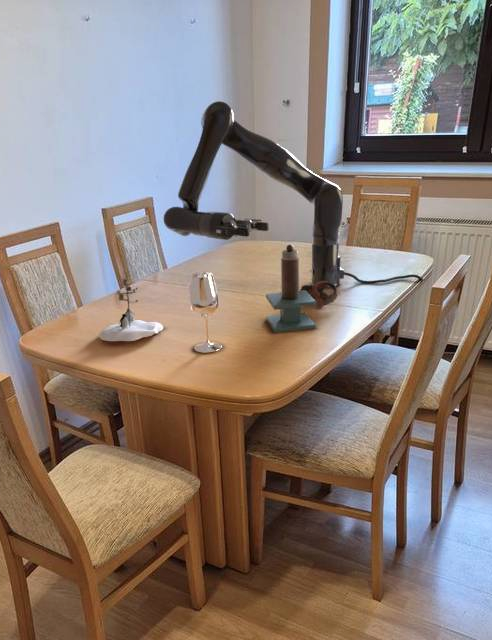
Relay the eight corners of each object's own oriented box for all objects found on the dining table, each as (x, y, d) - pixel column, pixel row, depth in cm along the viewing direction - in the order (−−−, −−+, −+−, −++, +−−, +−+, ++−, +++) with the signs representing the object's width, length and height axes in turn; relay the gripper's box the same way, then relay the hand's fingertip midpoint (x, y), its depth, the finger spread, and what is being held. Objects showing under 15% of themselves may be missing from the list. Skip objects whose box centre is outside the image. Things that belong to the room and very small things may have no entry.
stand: (305, 315, 178) (305, 289, 174) (315, 328, 167) (315, 301, 163) (266, 320, 177) (265, 293, 173) (274, 333, 166) (274, 305, 162)
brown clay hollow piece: (335, 300, 191) (341, 281, 184) (330, 320, 186) (336, 302, 179) (300, 291, 191) (304, 272, 184) (294, 311, 187) (298, 293, 180)
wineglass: (193, 344, 163) (186, 272, 153) (221, 341, 163) (215, 269, 153) (194, 354, 156) (187, 279, 146) (223, 351, 156) (218, 277, 146)
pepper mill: (296, 294, 170) (296, 241, 163) (300, 299, 166) (300, 245, 158) (279, 296, 170) (279, 243, 162) (283, 300, 166) (283, 247, 158)
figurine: (143, 346, 161) (136, 286, 154) (87, 342, 167) (78, 284, 160) (173, 328, 178) (169, 274, 171) (121, 326, 184) (115, 273, 177)
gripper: (199, 216, 169) (241, 220, 159) (231, 208, 178) (273, 211, 168) (201, 243, 173) (242, 248, 163) (233, 234, 181) (274, 238, 172)
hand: (258, 229), depth 165 cm, fingers open, 8 cm apart
